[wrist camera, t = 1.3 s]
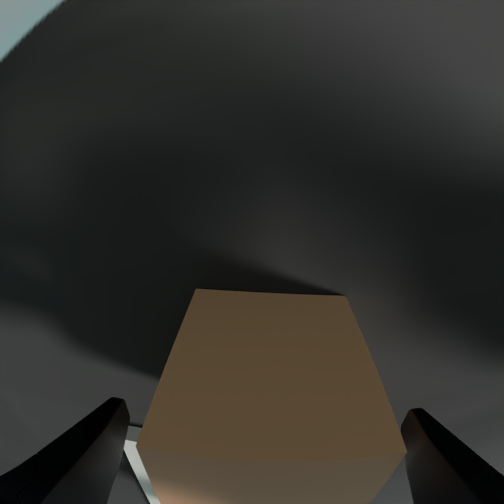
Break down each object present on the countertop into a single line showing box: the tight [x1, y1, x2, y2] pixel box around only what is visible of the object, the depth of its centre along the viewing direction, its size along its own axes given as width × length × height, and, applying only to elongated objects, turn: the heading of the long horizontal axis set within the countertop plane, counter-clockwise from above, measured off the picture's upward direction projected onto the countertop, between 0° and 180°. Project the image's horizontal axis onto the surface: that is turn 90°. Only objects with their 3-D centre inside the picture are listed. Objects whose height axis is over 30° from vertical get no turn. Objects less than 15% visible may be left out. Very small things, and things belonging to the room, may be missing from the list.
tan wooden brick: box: [136, 289, 407, 504], centre depth 9 cm, size 5×5×7 cm
